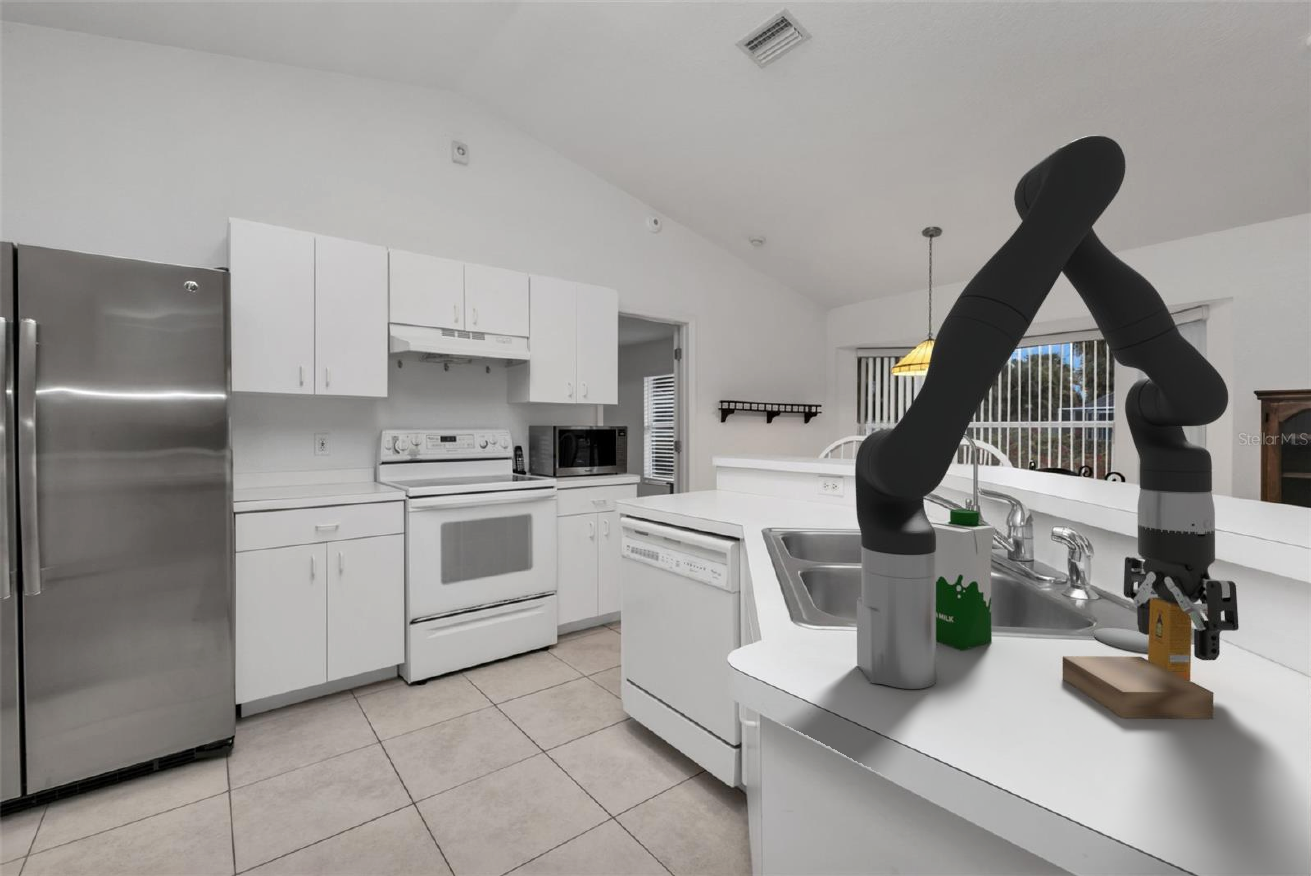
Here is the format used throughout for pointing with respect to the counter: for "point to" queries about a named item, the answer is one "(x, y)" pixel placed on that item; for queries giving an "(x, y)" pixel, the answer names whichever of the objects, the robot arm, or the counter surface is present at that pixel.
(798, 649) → the counter surface
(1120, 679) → the walnut plinth
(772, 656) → the counter surface
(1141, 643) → the grey coaster
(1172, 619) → the supplement box
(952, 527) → the milk carton
